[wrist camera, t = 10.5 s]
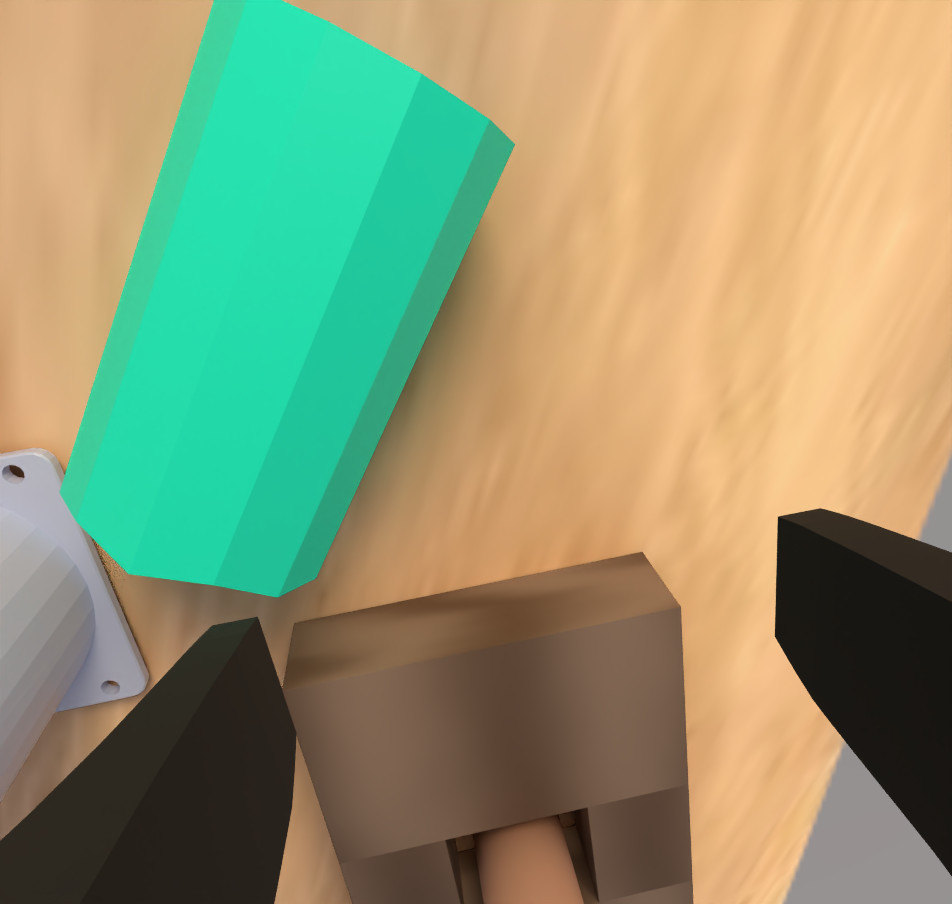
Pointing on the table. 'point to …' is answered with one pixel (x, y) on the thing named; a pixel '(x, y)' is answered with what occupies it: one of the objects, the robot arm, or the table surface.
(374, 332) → the candle
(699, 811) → the table surface
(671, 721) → the hole block
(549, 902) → the peg
